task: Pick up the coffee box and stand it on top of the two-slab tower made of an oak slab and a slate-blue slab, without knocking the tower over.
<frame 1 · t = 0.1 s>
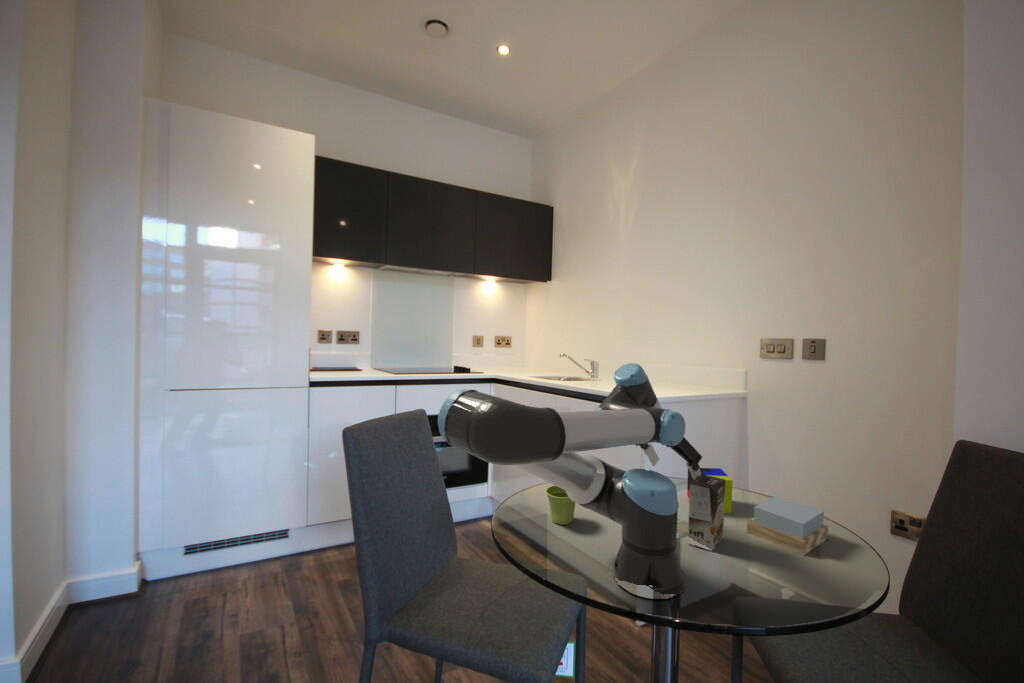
hand: (675, 469, 131), 15 cm above the table, tool tilted 35°, fingers open, 13 cm apart
coffee box: (705, 542, 121), on the table
puzzle toy: (708, 506, 143), on the table
slate-blue top slab: (788, 523, 123), point 3 cm above the table, touching oak base slab
oak base slab: (786, 538, 124), on the table, touching slate-blue top slab
plant pot: (561, 521, 133), on the table
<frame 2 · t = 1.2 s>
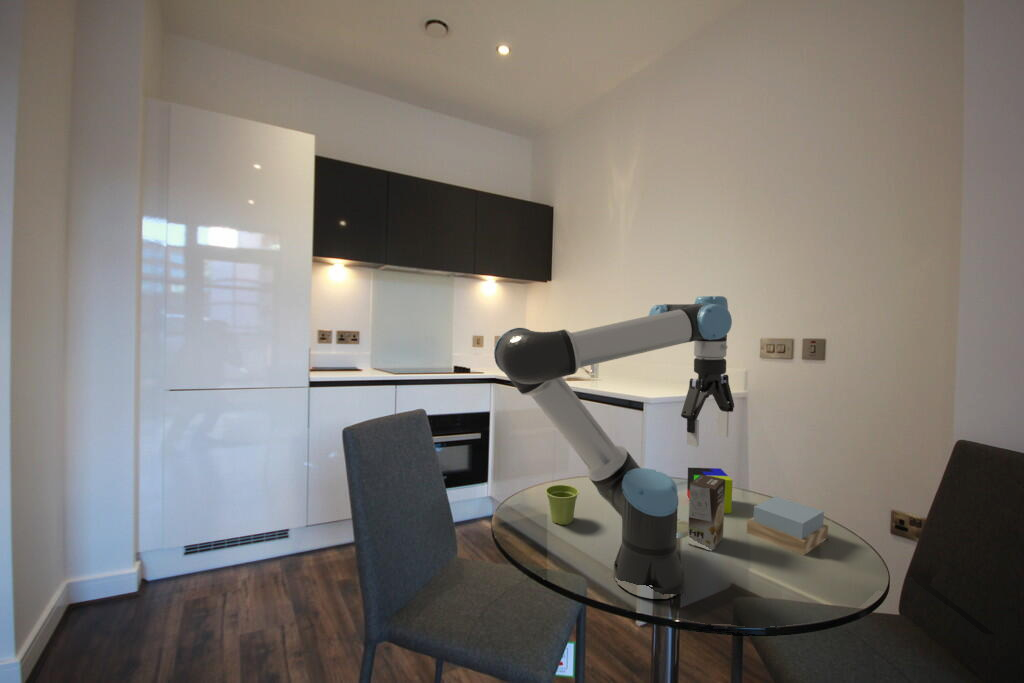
hand: (708, 440, 119), 27 cm above the table, tool pointing down, fingers open, 13 cm apart
nothing on the table moved.
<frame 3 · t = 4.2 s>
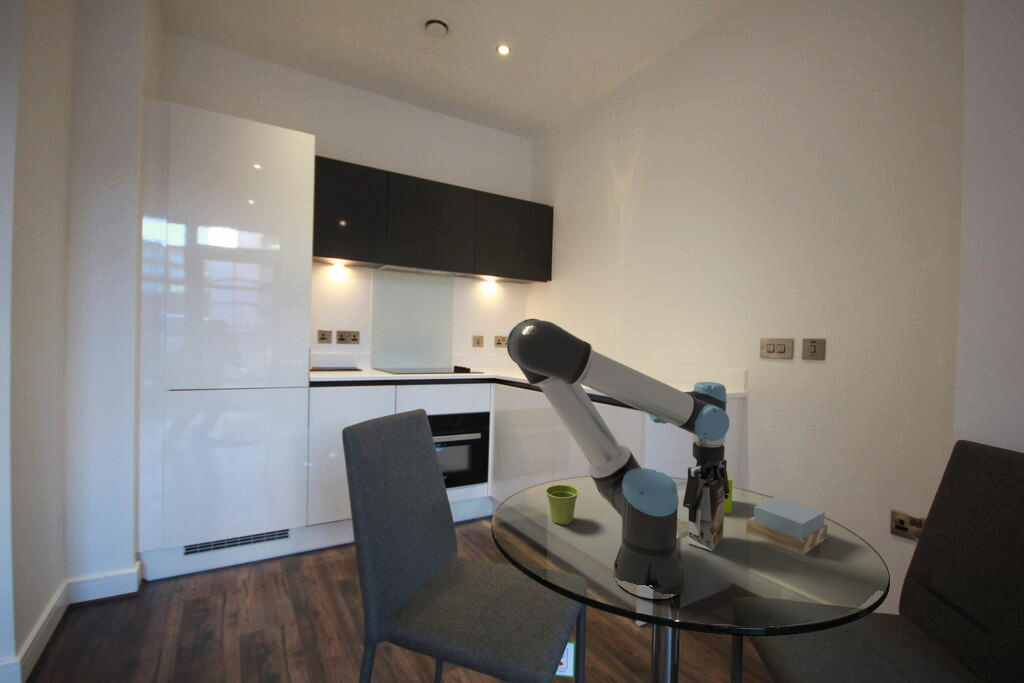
hand: (706, 527, 121), 4 cm above the table, tool pointing down, fingers closed on coffee box, 10 cm apart
coffee box: (705, 542, 121), on the table, touching gripper
everything else where it was.
when the fingers open (13 cm above the table, at t = 12.4 s): coffee box drops 2 cm, resting on slate-blue top slab.
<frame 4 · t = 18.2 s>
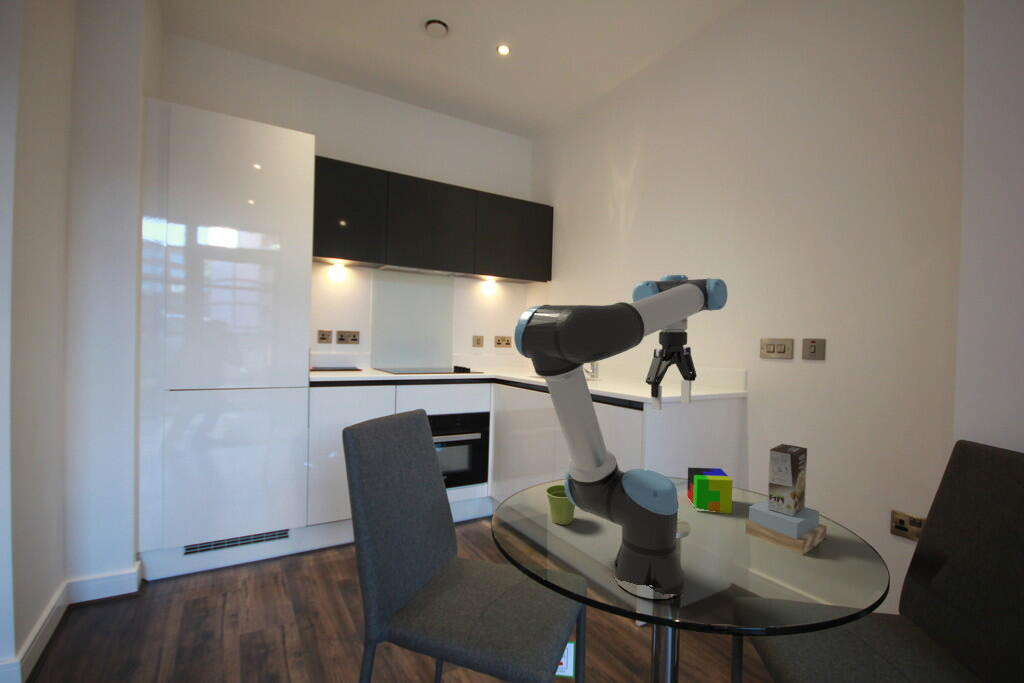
hand: (671, 405, 132), 33 cm above the table, tool pointing down, fingers open, 13 cm apart
coffee box: (786, 508, 124), point 7 cm above the table, touching slate-blue top slab
slate-blue top slab: (783, 523, 124), point 3 cm above the table, touching oak base slab, coffee box
everything else where it was.
at the end: coffee box inside the target area on the slate-blue top slab (0.9 cm from its centre), point 3.8 cm above the slate-blue top slab's base; coffee box tilted 1°; slate-blue top slab 0.7 cm off-centre on the oak base slab, point 4.0 cm above the oak base slab's base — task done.
